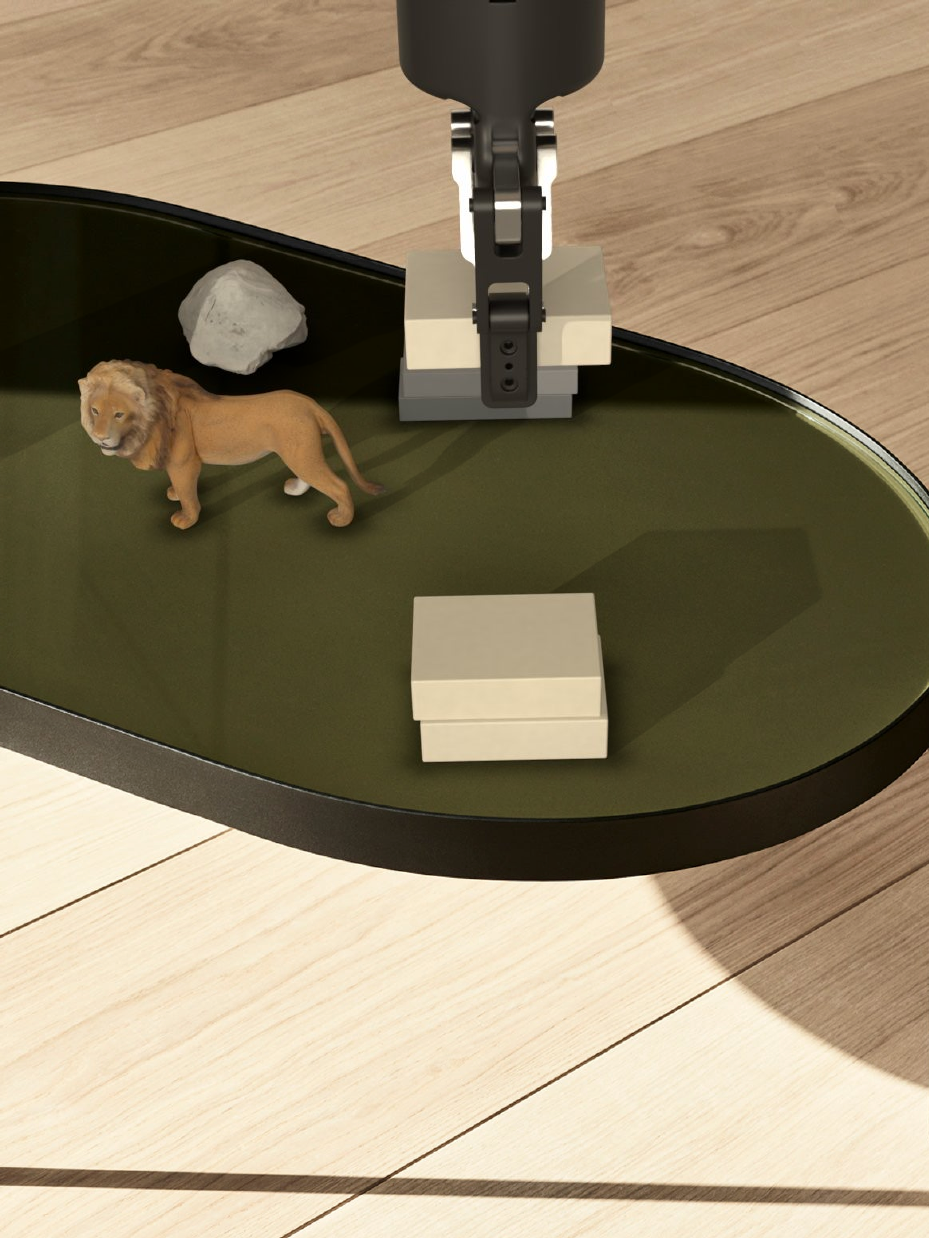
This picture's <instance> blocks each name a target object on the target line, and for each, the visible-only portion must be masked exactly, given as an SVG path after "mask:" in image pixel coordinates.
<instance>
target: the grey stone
mask: <svg viewBox="0 0 929 1238" xmlns="http://www.w3.org/2000/svg"><path fill="white" fill-rule="evenodd" d="M305 311H306V308H305V306H304V305H303V304H301V303H299V302H298V301H297V300H296V299H295V298H294V297H293V295H291V293H289V292H288V291H287V289H286V288H285V286H284V285H283V284H282V283H280V282H279V281H278V279H276V278H274V277H273V275H272V274H271V273H270V272H269V271H267V270H266V269H265V268H264V267H263V266H261V265H259V264H257V263H255V262H253V261H251V260H246V259H237V260H235V261H229V262H228V263H225V264H222V265H220V266H217V267H215V268H214V269H212V270H209V271H208V272H206V273H205V274H204V276H203V277H201V278H200V279H198V280H197V282H195V283H194V285H193V286H192V288H191V290H190V291H189V293H188V294H187V295H186V297H185V299H183V300H182V301H181V304H180V306H179V308H178V313H177V317H178V321H179V323H180V325H181V327H182V331H183V336H184V337H185V338H186V341H187V343H188V344H189V349H190V353H191V356H192V357H193V358H194V359H195V360H197V361H198V362H199V363H201V364H202V365H205V366H208V367H217V368H220V369H222V370H224V371H226V372H230V373H231V372H232V373H236V374H237V375H239V374H240V375H244V376H246V375H250V374H253V373H255V372H256V371H257V369H259V368H260V367H262V366H263V365H265V364H266V363H268V362H269V361H270V360H271V359H272V358H273V353H275V352H278V351H281V350H283V349H288V348H292V347H296V346H299V345H301V344H303V343H304V342H305V341H306V340H307V337H308V326H307V322H306V321H307V317H306V314H305Z"/></svg>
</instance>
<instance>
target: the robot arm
mask: <svg viewBox="0 0 929 1238" xmlns="http://www.w3.org/2000/svg"><path fill="white" fill-rule="evenodd" d="M395 7H396V23H397V24H396V25H397V43H398V61H399V66H400V69H401V72H402V73H403V75H404V77H405V78H406V79H407V81H408V82H410V84H412V85H413V86H414V87H415V88H417V89H418V90H420V91H421V92H423V93H426V94H427V95H429V96H433V97H434V98H438V99H440V100H444V101H446V100H452V101H455V102H458V103H460V104H463V105H464V106H466V107H468V108H451V109H450V129H451V130H450V133H451V134H450V135H451V136H450V153H451V159H450V160H451V175H452V179H453V181H454V182H455V184H457V186H458V198H459V225H460V249H461V252H462V255H463V257H464V258H465V259H466V260H467V261H469V262H471V263H472V264H473V265H474V267H475V285H476V303H472V323H473V324H477V334H480V370H481V400H482V402H483V404H484V405H485V406H487V407H489V408H493V409H496V408H527V407H530V406H532V405H533V404H534V403H535V402H536V400H537V332H542V322H546V309H544V301H542V261H543V260H545V259H546V258H548V257H549V256H550V254H551V252H552V247H553V215H552V213H553V208H552V206H553V205H552V203H553V202H552V185H553V182H554V180H555V179H556V178H557V176H558V172H559V170H558V169H559V168H558V167H559V165H558V163H559V161H558V135H557V133H556V132H555V110H554V106H541V105H543V104H544V103H546V102H548V101H550V100H553V99H555V98H557V97H561V98H564V97H567V96H570V95H572V94H573V93H576V92H578V91H580V90H582V89H583V88H585V87H586V86H587V85H589V84H591V82H593V81H594V80H595V79H596V77H598V75H599V73H600V72H601V70H602V68H603V65H604V61H605V53H606V51H605V50H606V49H605V48H606V47H605V45H606V42H605V41H606V34H605V33H606V0H395ZM519 282H522V283H526V284H527V294H526V292H503V293H489V296H488V289H489V287H490V286H491V285H492V284H494V283H519Z"/></svg>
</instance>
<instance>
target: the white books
mask: <svg viewBox="0 0 929 1238" xmlns="http://www.w3.org/2000/svg"><path fill="white" fill-rule="evenodd" d="M596 608H597V607H596V598H595V593H594V592H571V593H568V592H567V593H525V594H522V593H521V594H520V593H519V594H518V593H517V594H477V595H429V596H423V595H422V596H414V598H413V613H412V614H413V617H412V639H411V640H412V641H411V642H412V643H411V669H410V670H411V671H410V673H411V675H410V688H411V690H410V691H411V703H412V704H411V706H412V719H413V721H420V723H419V724H420V725H419V728H420V743H421V744H420V745H421V760H422V762H423V763H436V762H437V763H438V762H439V763H440V762H441V763H444V762H445V763H446V762H485V761H486V762H487V761H488V762H489V761H491V762H492V761H531V760H533V761H534V760H536V761H537V760H573V759H574V760H577V759H579V760H582V759H606V758H607V757H608V742H609V739H608V738H609V713H608V704H607V703H608V702H607V693H606V692H607V691H606V683H605V672H604V661H603V650H602V639H601V635H600V634H599V632H598V631H599V630H598V621H597V619H598V618H597V610H596Z"/></svg>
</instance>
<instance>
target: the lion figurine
mask: <svg viewBox="0 0 929 1238" xmlns="http://www.w3.org/2000/svg"><path fill="white" fill-rule="evenodd" d="M77 384H78V386H79V391H80V394H81V395H80V397H79V398H80V414H81V415H80V422H81V426H82V427H83V429H84V430H85V432H86V433H87V435H88V436H89V438H91V440H92V441H93V442H94V444H97V445H99V448H100V450H101V452H102V454H104V455H105V456H110V457H111V456H112V457H113V456H114V455H115V456H118V457H119V458H125V459H127V460H130V462H131V463H132V464H133V466H134V467H135V468H136V469H138V470H142V471H159V472H161V471H166V472H167V475H168V477H169V479H170V482H171V486H169V487H168V488H167V490H166V495H167V498H168V499H169V500H170V501H179V502H180V505H181V509H179V510H177V511H175V512H174V513H173V514H172V515H171V517H170V522H171V523H172V525H173V526H174V527H176V528H178V529H180V530H185V529H188V528H191V527H192V526H194V525H195V524H196V523H197V522H198V520H199V515H200V512H201V510H202V507H201V503H200V500H199V497H198V496H199V495H198V479H199V476H200V475H201V471H202V464H206V465H207V464H208V465H218V466H219V465H220V466H239V465H240V466H241V465H246V464H247V465H248V464H251V463H253V462H257V461H259V460H260V459H263V458H264V457H266V456H268V455H270V454H271V453H273V452H275V453H276V454H277V455H278V456H279V457H280V459H281V460H282V462H283V463H284V465H286V466H287V467H288V469H290V471H291V472H292V473H293V474H294V475H295V476H296V477H294V478H293V477H292V478H291V477H290V478H288V479H286V481H285V483H284V486H283V491H284V493H285V494H287V495H290V496H301V495H304V494H305V493H306V492H307V491H308V490H309V489H310V488H311V487H312V488H314V489H316V490H317V491H318V492H320V493H323V494H324V495H325V496H327V497H329V498H330V499H332V501H334V502H335V503H336V504H337V506H336V507H332V509H330V510H329V511H328V512H327V513H326V517H327V520H328V521H329V523H330V524H331V525H332V526H334V527H337V528H341V527H346V526H348V525H350V523H351V522H353V519H354V517H355V516H354V515H355V504H354V501H353V500H354V499H353V497H352V494H351V492H350V487H349V485H348V483H347V482H346V481H345V480H344V479H342V478H341V477H339V476H338V475H337V474H336V473H335V472H334V471H333V470H332V468H331V467H330V465H329V464H328V462H327V460H326V457H325V454H324V450H323V443H322V442H323V441H322V436H323V435H328V436H329V438H330V440H331V442H332V444H333V446H334V448H335V450H336V452H337V454H338V456H339V458H340V460H341V461H342V464H343V467H344V468H345V471H346V472H347V474H348V476H349V477H350V479H351V480H352V481H353V483H354V484H355V485H356V486H357V487H358V488H359V489H360V490H361V491H362V492H364V493H366V494H369V495H372V496H374V497H375V496H377V495H382V494H384V493H385V492H386V491H387V487H386V486H385V484H384V483H380V482H378V481H373V480H367V479H365V478H364V477H363V476H362V475H361V474H360V472H359V469H358V468H357V465H356V462H355V461H354V460H355V459H354V457H353V455H352V452H351V450H350V448H349V445H348V443H347V440H346V437H345V436H344V434H343V432H342V429H341V428H340V426H339V425H338V424H337V422H336V420H335V419H334V418H333V416H332V415H331V414H330V413H329V412H328V411H327V410H326V409H324V407H322V406H321V405H319V404H318V402H317V401H316V400H315V399H313V398H312V397H310V396H308V395H305V394H303V393H300V392H297V391H294V390H291V389H279V390H274V391H273V390H272V391H270V392H269V391H268V392H265V393H257V394H248V395H220V394H215V393H212V392H209V391H207V390H206V389H205V388H203V387H202V386H201V385H200V384H199V383H198V382H196V381H195V380H193V379H192V378H190V377H188V376H185V375H182V374H180V373H177V372H175V373H174V372H173V371H172V370H170V369H167V368H166V369H161V368H158V367H157V366H156V365H155V364H154V363H145V362H142V361H139V360H135V361H134V360H131V359H129V358H126V359H124V360H120V359H118V360H117V359H113V358H112V359H111V360H109V361H108V362H107V361H100V362H99V363H97V364H96V365H94V366H93V368H91V369H90V371H89V372H87V375H86V377H83V378H80V379H78V380H77Z"/></svg>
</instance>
